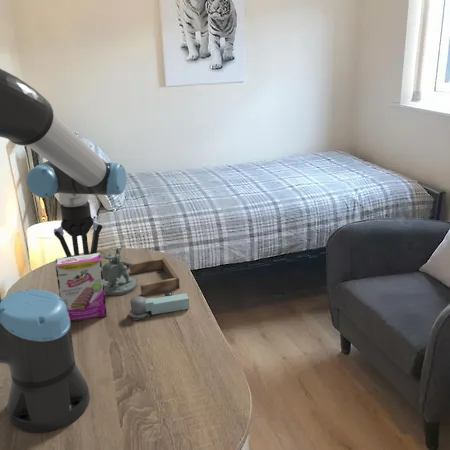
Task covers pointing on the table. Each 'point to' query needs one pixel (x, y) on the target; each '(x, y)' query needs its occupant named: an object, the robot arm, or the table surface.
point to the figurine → (117, 276)
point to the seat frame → (157, 264)
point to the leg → (159, 304)
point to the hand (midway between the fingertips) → (85, 282)
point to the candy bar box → (82, 286)
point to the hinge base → (146, 314)
